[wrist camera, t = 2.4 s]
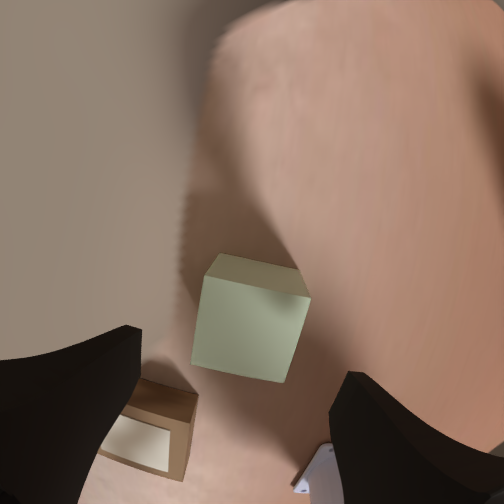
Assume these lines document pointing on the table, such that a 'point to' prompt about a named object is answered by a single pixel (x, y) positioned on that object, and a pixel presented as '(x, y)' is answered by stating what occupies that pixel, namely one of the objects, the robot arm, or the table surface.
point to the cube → (249, 318)
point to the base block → (154, 431)
